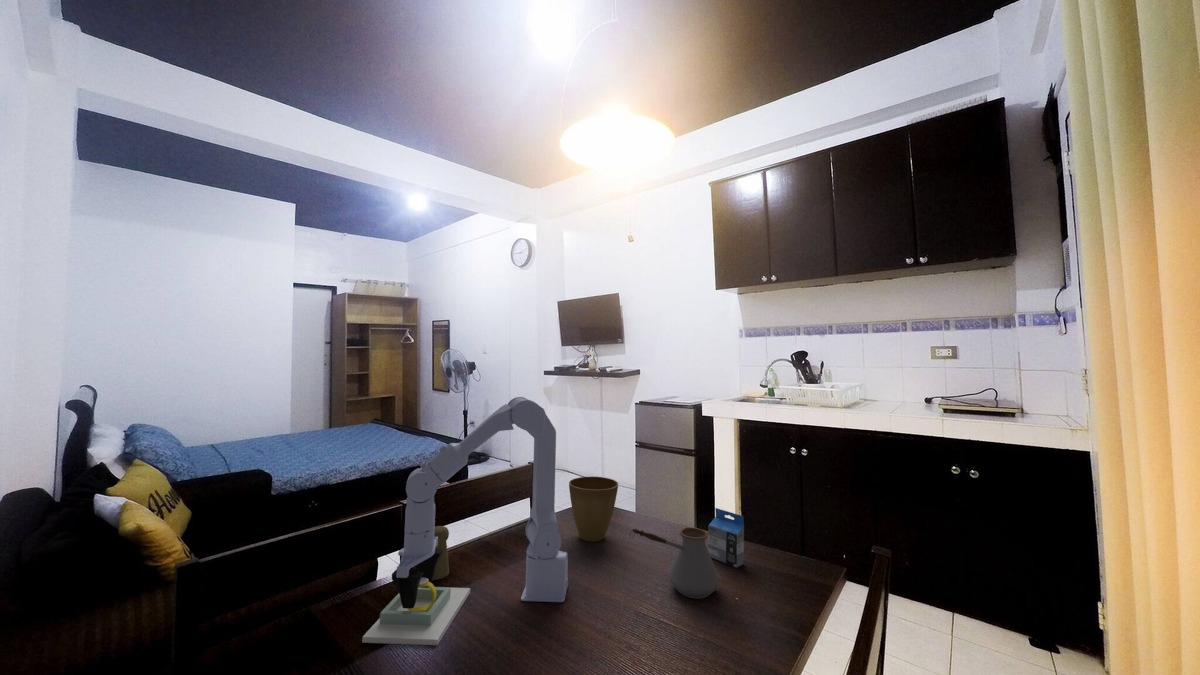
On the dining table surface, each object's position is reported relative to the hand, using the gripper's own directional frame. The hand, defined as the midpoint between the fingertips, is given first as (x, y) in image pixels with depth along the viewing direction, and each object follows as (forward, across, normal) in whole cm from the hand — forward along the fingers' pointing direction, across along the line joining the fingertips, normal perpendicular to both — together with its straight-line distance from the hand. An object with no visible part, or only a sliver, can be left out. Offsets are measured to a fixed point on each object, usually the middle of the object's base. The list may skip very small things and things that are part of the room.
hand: (417, 596), depth 88 cm
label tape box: (+4, -29, +70) cm, 76 cm away
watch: (+3, 0, +1) cm, 3 cm away
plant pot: (+4, -42, +34) cm, 54 cm away
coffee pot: (+4, -12, +54) cm, 55 cm away
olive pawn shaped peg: (+4, -17, -3) cm, 18 cm away
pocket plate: (+4, 0, +1) cm, 4 cm away
